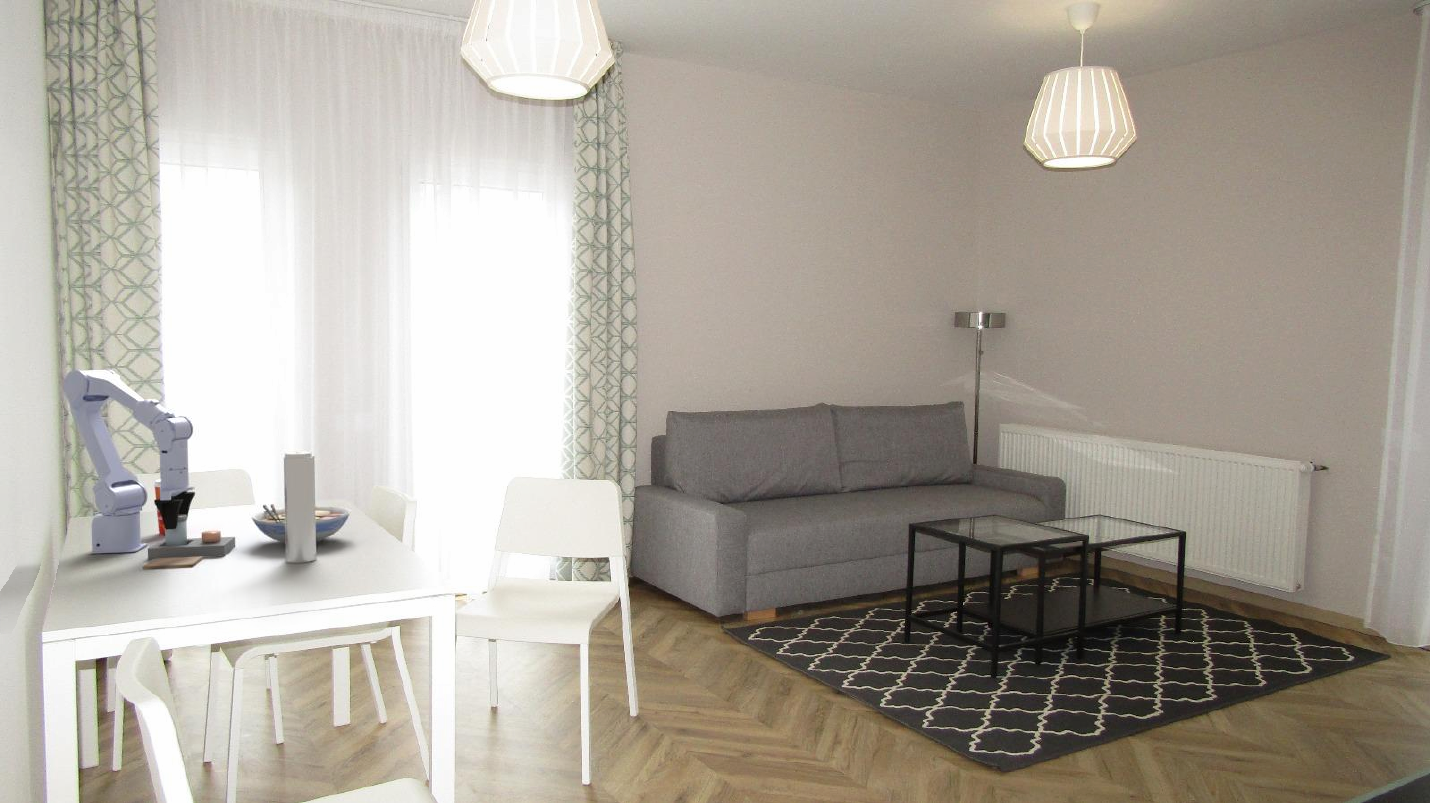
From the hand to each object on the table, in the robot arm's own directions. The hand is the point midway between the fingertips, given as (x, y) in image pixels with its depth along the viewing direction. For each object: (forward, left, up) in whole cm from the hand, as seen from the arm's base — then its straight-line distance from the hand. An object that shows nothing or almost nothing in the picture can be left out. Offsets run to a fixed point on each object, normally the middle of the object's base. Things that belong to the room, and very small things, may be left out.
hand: (176, 525), depth 219 cm
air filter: (+29, -13, -7) cm, 33 cm away
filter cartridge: (0, 0, -7) cm, 7 cm away
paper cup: (-9, +26, -7) cm, 28 cm away
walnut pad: (+2, -11, -7) cm, 13 cm away
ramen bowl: (+26, +7, -7) cm, 28 cm away
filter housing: (+3, 0, -7) cm, 7 cm away
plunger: (+7, 0, -4) cm, 8 cm away
